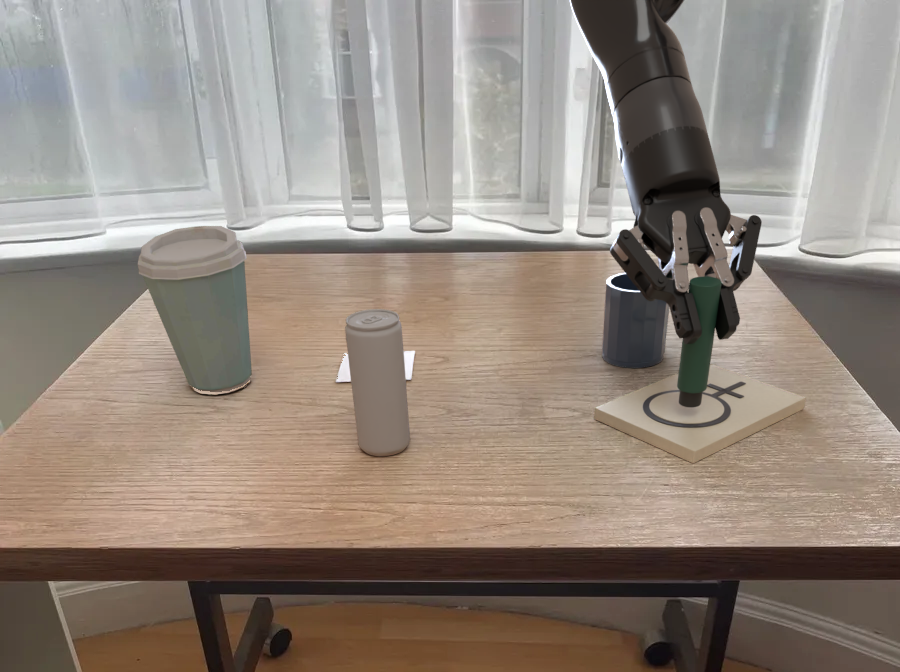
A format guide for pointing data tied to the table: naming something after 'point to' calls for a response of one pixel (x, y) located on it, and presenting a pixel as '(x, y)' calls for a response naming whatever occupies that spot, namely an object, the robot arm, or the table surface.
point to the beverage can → (378, 381)
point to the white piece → (345, 370)
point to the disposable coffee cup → (202, 302)
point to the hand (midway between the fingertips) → (711, 336)
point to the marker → (699, 342)
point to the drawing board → (699, 413)
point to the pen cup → (632, 325)
